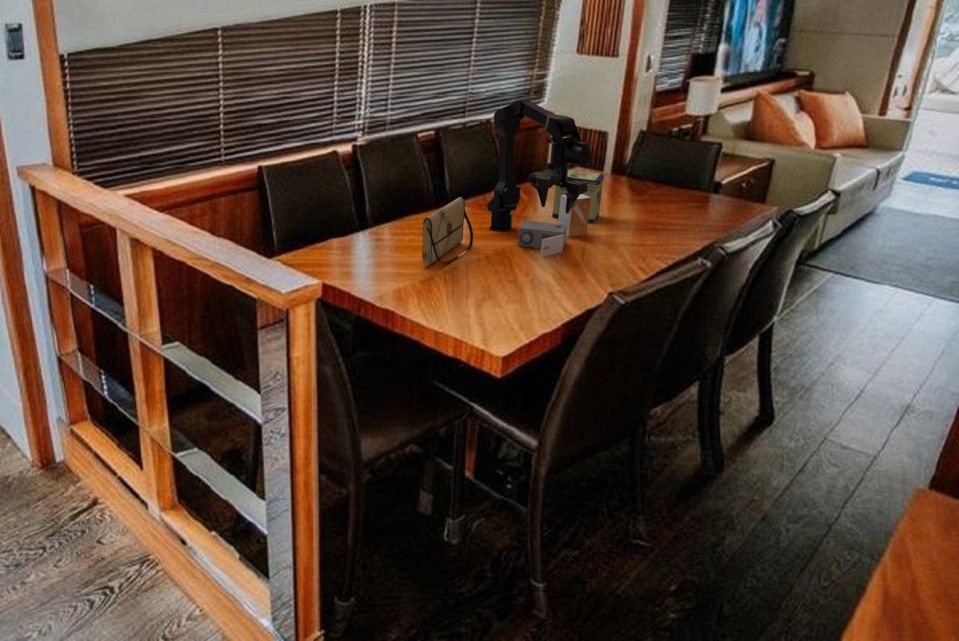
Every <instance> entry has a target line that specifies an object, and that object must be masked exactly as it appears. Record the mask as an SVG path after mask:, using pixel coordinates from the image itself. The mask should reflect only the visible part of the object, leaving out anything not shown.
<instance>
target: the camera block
mask: <svg viewBox="0 0 959 641" xmlns="http://www.w3.org/2000/svg"><path fill="white" fill-rule="evenodd" d="M566 230H567V225H565V224H558V223H557V222H556V223H555V222H547V221H538V220H537V221H535V220H527V219H524V220H522V222H521V225H520V226H519V229H518V244H517V246H518V245H519V246H518V247H527V248H533V249H534V248H535V249H541V246H542V239H546V238H550V237H554V236H558V235H562V234H564V235H565V236H564V246H563V248H564V247H565V244H566V240H567V239H566V237H567V236H566Z"/></svg>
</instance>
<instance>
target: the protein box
mask: <svg viewBox="0 0 959 641" xmlns="http://www.w3.org/2000/svg"><path fill="white" fill-rule="evenodd" d="M568 177H570V180H568V181H567V182H573V181H581V182H585V183H586V184H587V186H588V188H587V192H585V193H583V195H586V196H588V197H591V201H590V209H589V218H588V223H589V224H595V222H596V221H597V219H598V218H599V216H600V210H601V204H602V202H601V201H602V193H603V187H604V177H605V175H604V174H602V173H593V172H585V171H578V170H570V169H568ZM560 184H562V183H560ZM565 193H567V190H566V188H564V187H560V186H556V185H554V196H553V204H552V205H553V207H552V212H551V213H552V215H551V218H555V219H559V210H560V200H561V195H565Z"/></svg>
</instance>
